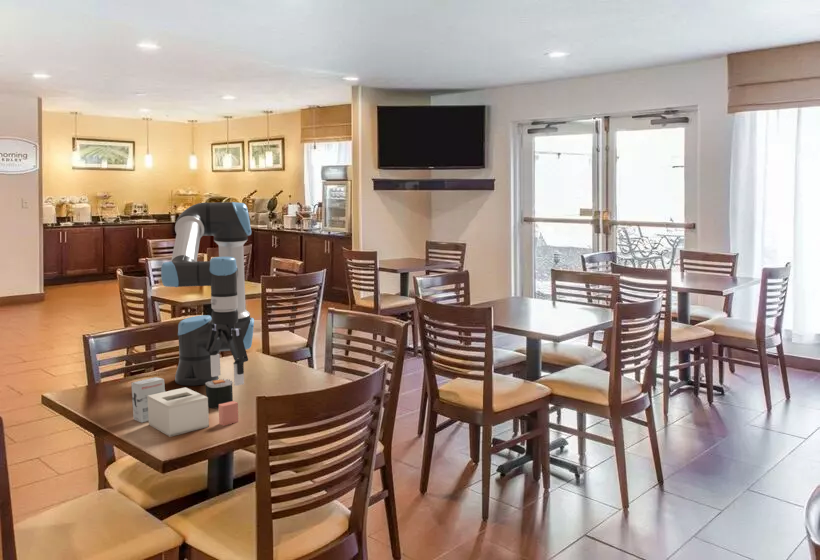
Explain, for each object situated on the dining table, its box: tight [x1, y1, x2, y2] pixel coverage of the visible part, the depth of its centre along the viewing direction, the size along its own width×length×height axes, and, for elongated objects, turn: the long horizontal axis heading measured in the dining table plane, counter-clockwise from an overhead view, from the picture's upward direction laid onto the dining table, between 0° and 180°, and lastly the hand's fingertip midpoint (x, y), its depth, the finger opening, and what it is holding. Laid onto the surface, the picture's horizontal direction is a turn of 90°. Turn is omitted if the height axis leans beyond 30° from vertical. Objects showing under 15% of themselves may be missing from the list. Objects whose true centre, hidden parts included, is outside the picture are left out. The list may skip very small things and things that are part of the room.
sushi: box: [204, 378, 234, 409], centre depth 225 cm, size 8×8×8 cm
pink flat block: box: [218, 400, 239, 427], centre depth 207 cm, size 2×5×6 cm, turn 134°
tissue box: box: [147, 387, 210, 438], centre depth 204 cm, size 14×12×9 cm
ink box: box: [131, 376, 166, 424], centre depth 211 cm, size 8×5×12 cm, turn 140°
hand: (227, 380), depth 205 cm, fingers open, 13 cm apart
